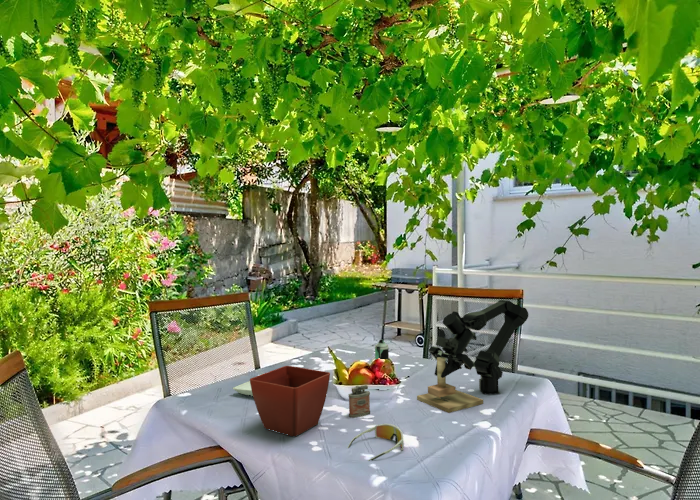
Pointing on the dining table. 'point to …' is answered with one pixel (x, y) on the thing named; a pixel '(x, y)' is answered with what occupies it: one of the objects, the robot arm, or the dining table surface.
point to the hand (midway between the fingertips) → (438, 376)
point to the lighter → (359, 402)
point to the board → (451, 401)
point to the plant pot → (290, 398)
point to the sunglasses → (385, 436)
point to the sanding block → (441, 382)
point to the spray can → (381, 350)
